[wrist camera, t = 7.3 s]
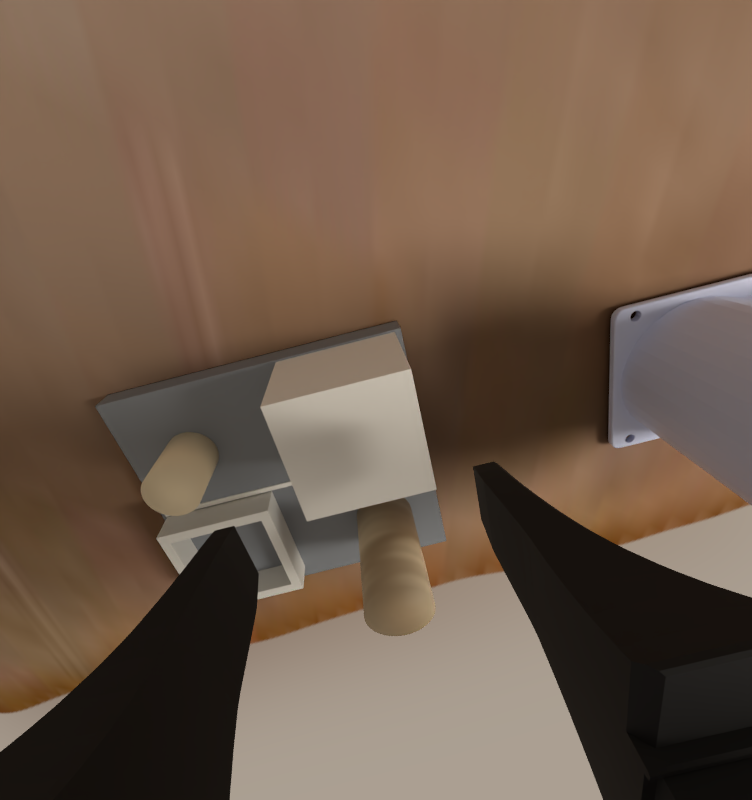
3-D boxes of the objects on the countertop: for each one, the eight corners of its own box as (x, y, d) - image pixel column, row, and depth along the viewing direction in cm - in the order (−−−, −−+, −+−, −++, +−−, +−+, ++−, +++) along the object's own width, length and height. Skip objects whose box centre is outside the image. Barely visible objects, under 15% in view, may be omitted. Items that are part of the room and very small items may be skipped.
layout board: (396, 320, 19) (412, 350, 16) (441, 525, 25) (460, 584, 21) (107, 394, 20) (54, 441, 16) (217, 581, 26) (197, 647, 22)
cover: (394, 331, 18) (411, 368, 14) (417, 434, 21) (436, 489, 17) (275, 361, 19) (260, 406, 15) (311, 460, 21) (306, 521, 17)
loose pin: (405, 486, 22) (428, 579, 17) (416, 528, 24) (440, 626, 18) (350, 500, 22) (356, 597, 17) (364, 540, 24) (373, 642, 18)
